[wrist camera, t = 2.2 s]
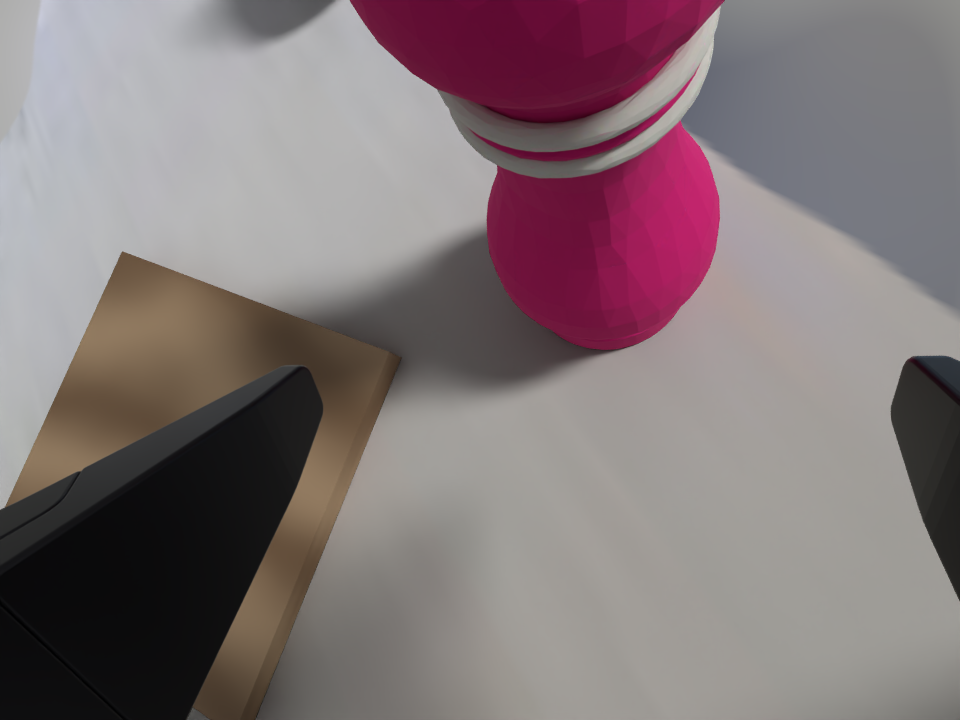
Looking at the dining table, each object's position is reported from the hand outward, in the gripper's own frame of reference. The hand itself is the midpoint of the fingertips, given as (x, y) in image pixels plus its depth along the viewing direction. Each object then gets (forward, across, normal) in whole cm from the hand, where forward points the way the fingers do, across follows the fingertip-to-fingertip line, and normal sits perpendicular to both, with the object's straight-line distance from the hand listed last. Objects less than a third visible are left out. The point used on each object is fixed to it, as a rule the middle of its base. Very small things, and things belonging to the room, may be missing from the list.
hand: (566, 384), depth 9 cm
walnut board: (+8, +19, +10) cm, 23 cm away
